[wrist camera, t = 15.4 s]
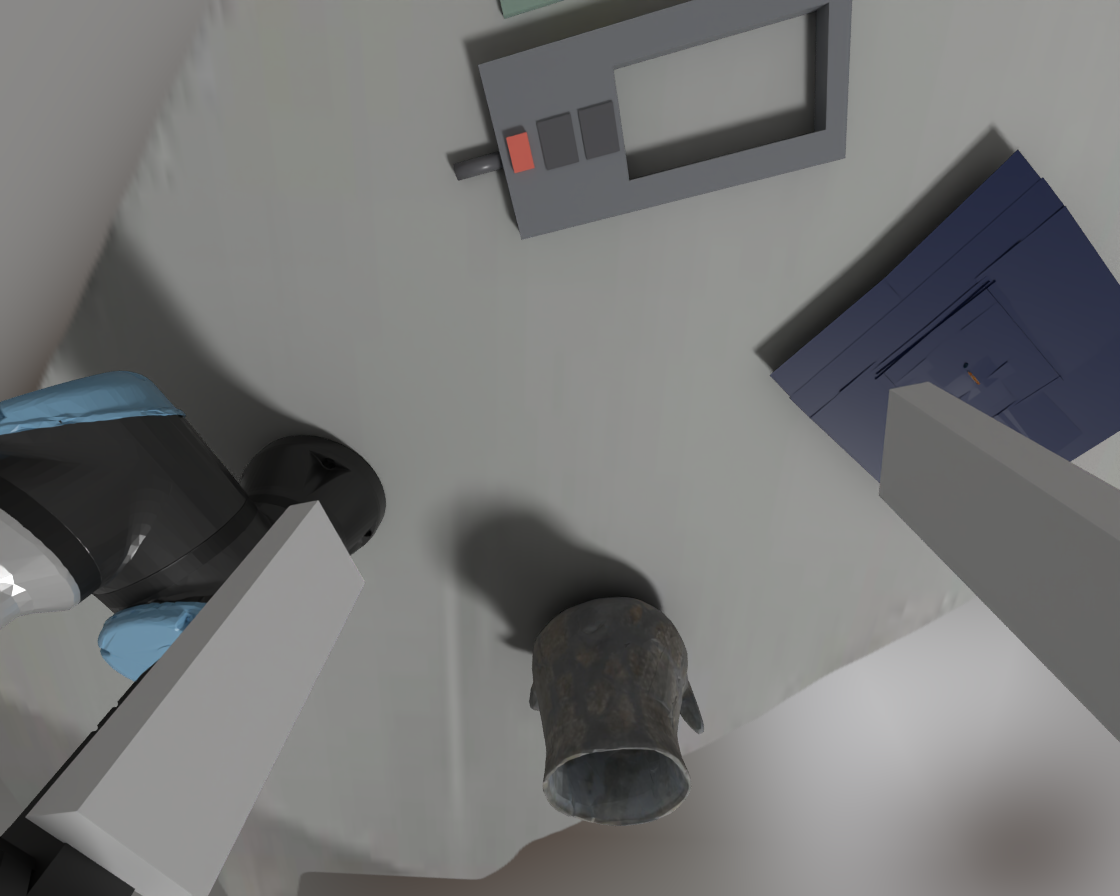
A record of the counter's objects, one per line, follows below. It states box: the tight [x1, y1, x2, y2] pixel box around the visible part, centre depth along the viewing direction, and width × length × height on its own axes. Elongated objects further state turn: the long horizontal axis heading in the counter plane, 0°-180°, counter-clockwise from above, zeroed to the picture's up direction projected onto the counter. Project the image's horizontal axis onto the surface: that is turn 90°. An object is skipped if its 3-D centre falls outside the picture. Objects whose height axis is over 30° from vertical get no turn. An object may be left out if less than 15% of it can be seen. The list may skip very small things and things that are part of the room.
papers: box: [770, 150, 1120, 483], centre depth 47 cm, size 24×30×4 cm
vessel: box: [529, 597, 704, 826], centre depth 58 cm, size 22×22×20 cm
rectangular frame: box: [454, 0, 852, 240], centre depth 37 cm, size 30×12×3 cm, turn 103°
